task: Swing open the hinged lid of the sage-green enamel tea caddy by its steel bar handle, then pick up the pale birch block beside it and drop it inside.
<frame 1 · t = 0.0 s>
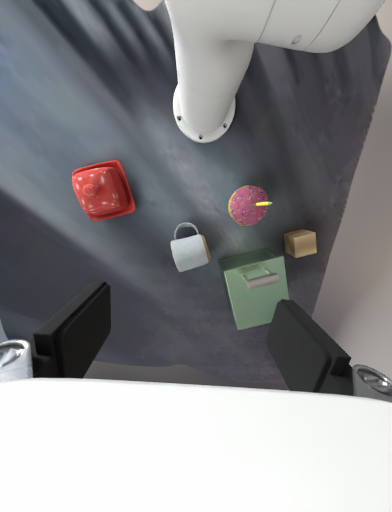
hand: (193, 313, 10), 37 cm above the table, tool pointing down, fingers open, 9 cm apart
caddy: (246, 278, 50), on the table
butter dish: (107, 192, 43), on the table
cupcake: (242, 205, 44), on the table
ceramic mug: (188, 243, 47), on the table
block: (293, 240, 47), on the table
lid: (262, 300, 39), point 12 cm above the table, hinge at 0.0°
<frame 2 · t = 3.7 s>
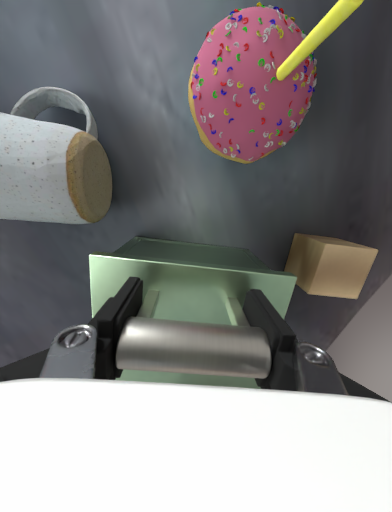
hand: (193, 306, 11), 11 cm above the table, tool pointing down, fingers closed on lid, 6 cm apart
caddy: (185, 300, 23), on the table
cupcake: (234, 122, 17), on the table
ceramic mug: (72, 164, 18), on the table
block: (308, 256, 22), on the table
lid: (182, 395, 11), point 12 cm above the table, hinge at 0.0°, touching gripper
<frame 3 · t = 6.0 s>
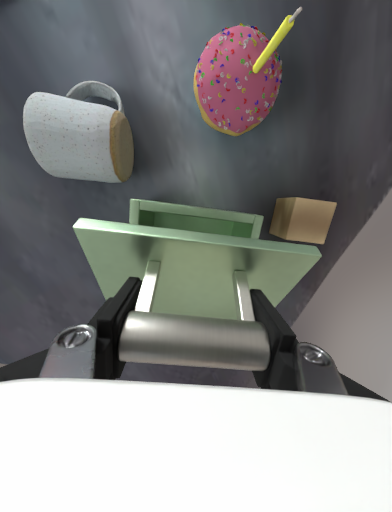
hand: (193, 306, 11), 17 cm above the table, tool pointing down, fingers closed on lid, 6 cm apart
caddy: (189, 256, 28), on the table
cupcake: (227, 108, 23), on the table
ceramic mug: (102, 141, 23), on the table
block: (289, 218, 27), on the table
lid: (186, 339, 13), point 15 cm above the table, hinge at 30.7°, touching gripper
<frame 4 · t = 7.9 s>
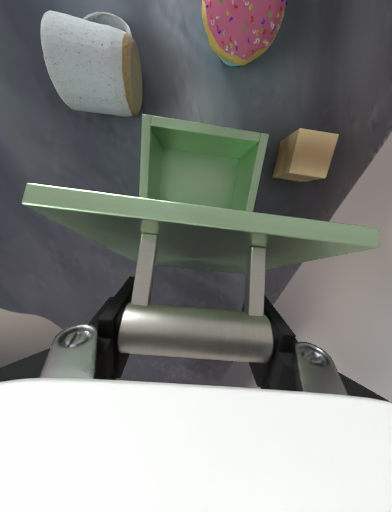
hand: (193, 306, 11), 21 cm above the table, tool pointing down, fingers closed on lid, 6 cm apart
caddy: (195, 200, 29), on the table
cupcake: (233, 46, 24), on the table
ceramic mug: (112, 79, 24), on the table
block: (292, 162, 28), on the table
lid: (192, 286, 14), point 17 cm above the table, hinge at 63.6°, touching gripper
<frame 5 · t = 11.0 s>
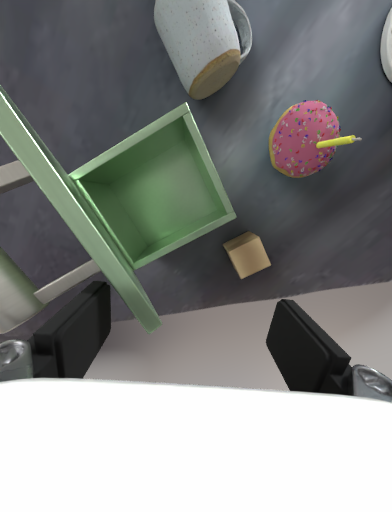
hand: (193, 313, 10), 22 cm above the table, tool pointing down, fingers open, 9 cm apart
caddy: (165, 197, 29), on the table
cupcake: (284, 150, 28), on the table
ceramic mug: (207, 57, 24), on the table
block: (241, 249, 32), on the table
lid: (59, 239, 13), point 18 cm above the table, hinge at 64.9°
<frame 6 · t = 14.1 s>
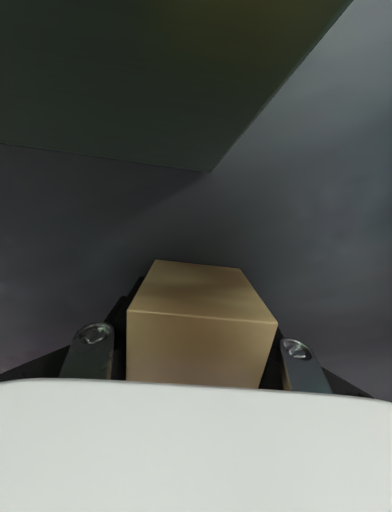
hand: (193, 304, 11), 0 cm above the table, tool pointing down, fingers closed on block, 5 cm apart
block: (193, 301, 11), on the table, touching gripper
when the fingers open (11 cm above the table, at t = 21.6 s): block drops 10 cm, resting on caddy.
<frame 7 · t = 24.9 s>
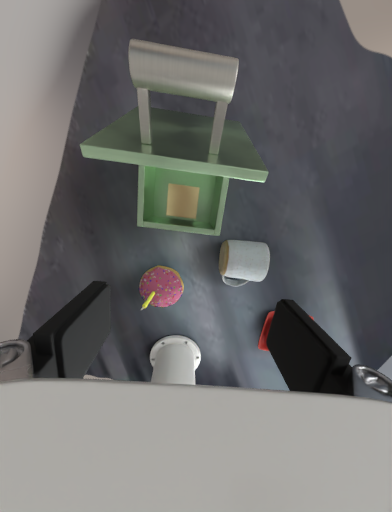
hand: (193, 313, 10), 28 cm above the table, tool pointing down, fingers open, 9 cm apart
caddy: (185, 184, 34), on the table
butter dish: (282, 329, 46), on the table
cupcake: (164, 276, 40), on the table
ceramic mug: (237, 259, 40), on the table
block: (183, 201, 35), point 1 cm above the table, touching caddy
lid: (187, 101, 16), point 17 cm above the table, hinge at 60.8°
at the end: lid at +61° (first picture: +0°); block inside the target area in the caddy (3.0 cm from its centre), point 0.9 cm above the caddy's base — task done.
